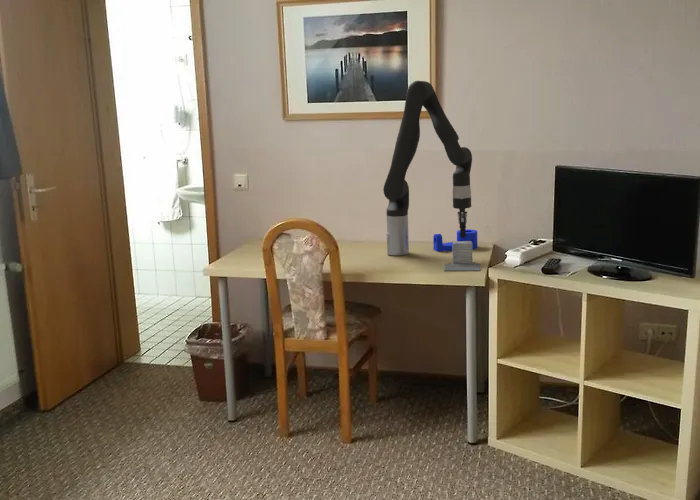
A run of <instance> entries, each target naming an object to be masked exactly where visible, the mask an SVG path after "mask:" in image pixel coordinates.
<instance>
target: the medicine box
mask: <svg viewBox="0 0 700 500" xmlns="http://www.w3.org/2000/svg"><path fill="white" fill-rule="evenodd" d="M452 247H453V251H452V264H474V263H473V261H474V259H473V249H472V242H471V241H460V242H457V241H452Z"/></svg>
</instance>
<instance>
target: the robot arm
mask: <svg viewBox="0 0 700 500" xmlns="http://www.w3.org/2000/svg"><path fill="white" fill-rule="evenodd" d="M406 90H407V91H406V95H405V96H406V97H405V102H404V103H405V104H404V108H403V115H402V119H401V121H400V125H399V129H398V133H397V136H396V141H395V147H394V149H393V154H392V159H391V165H390V168H389V171H388V173H387V176H386V179H385V182H384V184H383V194H384V197H385V198H386V199H387V200H388V206H387V208H386V229H387V230H386V232H387V233H386V250H387V251H386V253H387V254H386V255H388V256H389V255H390V256H405V255H408V254H410V247H409V246H410V245H409V243H410V242H409V216H408V215H409V208H410V207H409V206H410V188H409V183H408V182H407V180H405V179H406V174H407V172H408V169H409V167H410V165H411V163H412V162H413V159H414V157H415V155H416V152H417V149H418V145H419V142H420V137H421V128H420V127H421V126H420V117H421V113H422V110H423V108H424V109H425V110H426V112H427V113H428V115H429V117H430V119H431V123H432V126H433V129H434V132H435V134H436V135H437V137H438V138H439V140H440V142H441V143H442V145H443V146H444V151H445V152H446V155H447V158H448V160H449V162H450V163H451V164H452V165H454V166H455V170H454V172H453V173H452V207H453V209H458V211H457V220H458V221H457V222H458V224H459V226H458V227H459V230H460V237H461V238H465V237H466V229H467V224H468V223H467V221H468V219H467V217H468V211H466V209H470V208H471V207H472V189H471V170H472V163H473V154H472V151H471V149H469V148H468V147H465V146H462V147H461V144H460V142H459V139H460V137H459V135H458V133H457V132H456V130H455V129H454V126H453V125H452V124H451V121H449V118H448V117H447V115H446V113H445V111H444V109H443V107H442V105H441V103H440V101H439V99H438V96H437V94H436V91H435V89H434V87H433V85H432V83H430V82H428V81H426V80H415V81H413V82H411V83H410V84H409V85H408V88H407V89H406Z"/></svg>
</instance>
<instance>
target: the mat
mask: <svg viewBox="0 0 700 500" xmlns="http://www.w3.org/2000/svg"><path fill="white" fill-rule="evenodd" d="M481 268H482V267H481V263H473V264H453V263H445V264H444V268H443V271H444V272H481Z"/></svg>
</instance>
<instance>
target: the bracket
mask: <svg viewBox="0 0 700 500" xmlns="http://www.w3.org/2000/svg"><path fill="white" fill-rule="evenodd" d="M432 240H433V250H434V251H435V252H437V253H438V252H449V251H450V252H453V247H452V242H453V241H452V242H451V241H450V242H443V235H442V234H441V233H434V234H433V239H432ZM460 241H471V242H472V250H476V249H478V230H476V229H471V228H470V229H467V228H466V237H465V238H461V237H460V229H459V230H457V231H456V242H460Z"/></svg>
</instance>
